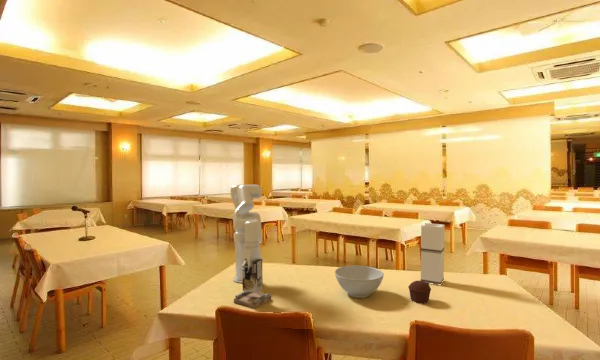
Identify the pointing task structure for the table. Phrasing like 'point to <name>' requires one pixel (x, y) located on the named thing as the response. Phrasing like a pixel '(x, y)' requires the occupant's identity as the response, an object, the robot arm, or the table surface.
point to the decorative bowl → (359, 280)
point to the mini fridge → (432, 253)
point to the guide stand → (252, 299)
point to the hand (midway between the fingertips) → (252, 277)
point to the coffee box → (253, 277)
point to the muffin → (419, 291)
